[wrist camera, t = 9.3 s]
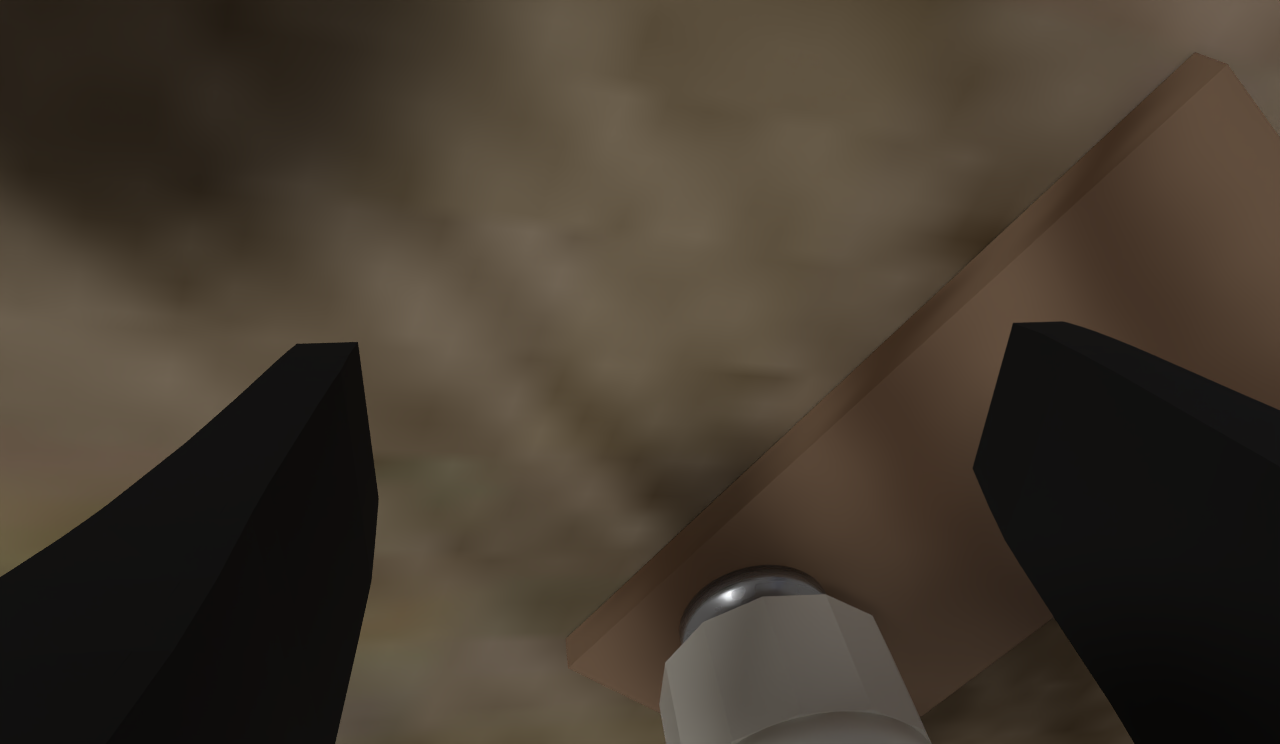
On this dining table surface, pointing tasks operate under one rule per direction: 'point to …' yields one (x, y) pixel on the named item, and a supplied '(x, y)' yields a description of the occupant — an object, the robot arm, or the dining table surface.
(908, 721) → the cap
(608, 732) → the dining table surface
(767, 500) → the post board
